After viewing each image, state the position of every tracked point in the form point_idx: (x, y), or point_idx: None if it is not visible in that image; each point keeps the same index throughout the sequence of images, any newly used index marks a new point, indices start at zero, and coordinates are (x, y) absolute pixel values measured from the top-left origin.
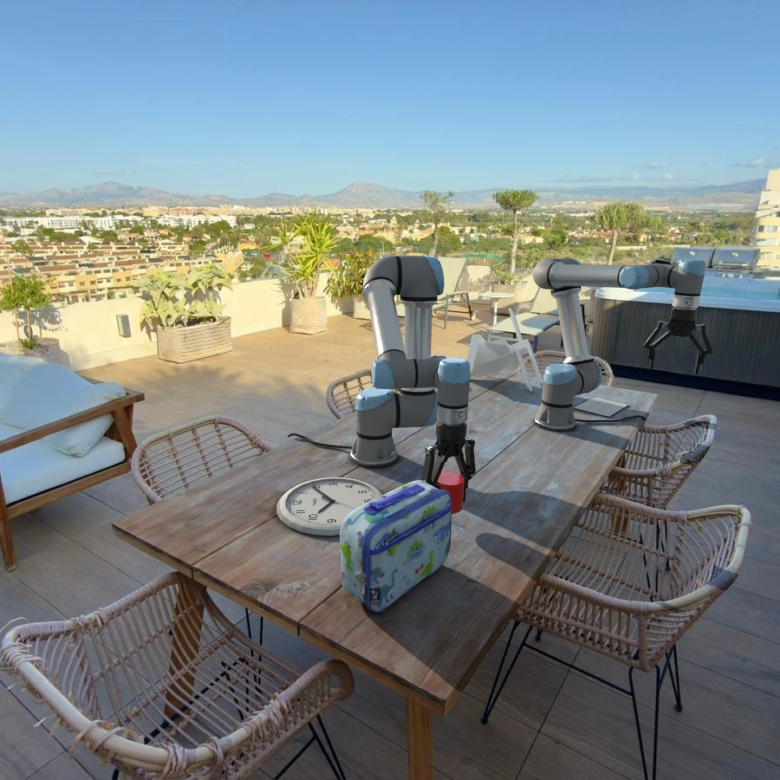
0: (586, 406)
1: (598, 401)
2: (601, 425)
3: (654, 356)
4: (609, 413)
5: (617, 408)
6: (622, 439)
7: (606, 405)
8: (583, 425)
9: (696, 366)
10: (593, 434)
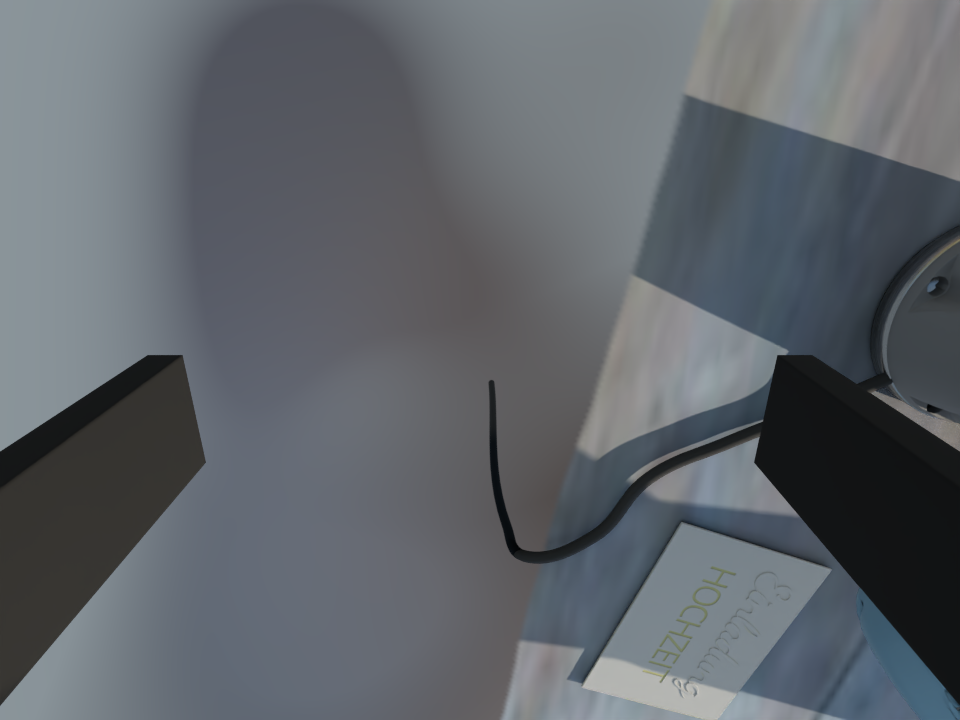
0: (769, 603)
1: (705, 678)
2: (729, 402)
3: (942, 476)
4: (674, 559)
5: (632, 629)
6: (648, 251)
7: (676, 647)
8: None
9: (108, 415)
10: (788, 258)
